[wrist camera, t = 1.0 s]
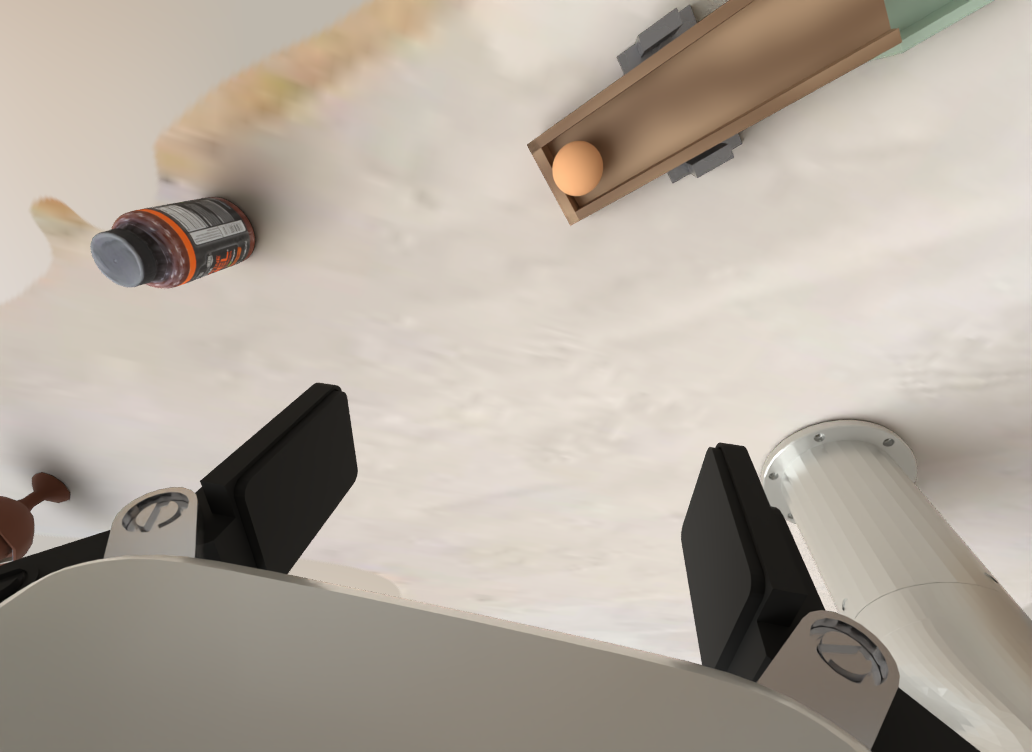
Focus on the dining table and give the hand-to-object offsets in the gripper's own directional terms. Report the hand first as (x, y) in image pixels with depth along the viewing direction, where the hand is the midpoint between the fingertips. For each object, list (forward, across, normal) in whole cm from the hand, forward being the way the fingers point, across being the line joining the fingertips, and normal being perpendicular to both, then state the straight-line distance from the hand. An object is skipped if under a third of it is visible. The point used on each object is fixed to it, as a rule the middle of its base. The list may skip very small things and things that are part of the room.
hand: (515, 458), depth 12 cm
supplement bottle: (+29, +32, +2) cm, 44 cm away
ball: (+26, +1, -5) cm, 26 cm away
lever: (+27, -5, -11) cm, 29 cm away
